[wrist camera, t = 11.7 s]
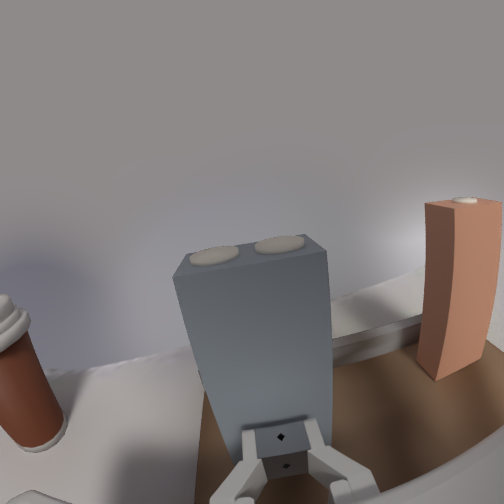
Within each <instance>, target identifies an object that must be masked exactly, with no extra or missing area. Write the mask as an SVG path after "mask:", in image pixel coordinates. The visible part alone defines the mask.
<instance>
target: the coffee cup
mask: <svg viewBox="0 0 504 504" xmlns="http://www.w3.org/2000/svg"><path fill="white" fill-rule="evenodd" d="M30 322H31V319H30V317H29V314H28V313H27V312H26V311H25V310H24V309H23V308H18V307H17V306H16V305H13V303H12V300H11V298H10V297H9V296H8V295H6V294H3V295H0V425H1V427H2V428H3V429H4V430H5V431H6V432H7V434H8V435H9V436H10V437H11V438H12V439H13V440H14V441H15V442H16V444H17V445H18V446H19V447H20V448H21V449H23V450H24V451H26V452H33V453H37V452H41V451H45V450H48V449H49V448H51V447H52V446H54V445H55V444H57V443H58V442H59V440H60V439H61V438H62V437H63V435H64V434H65V431H66V428H67V419H66V416H65V414H64V413H63V411H62V409H61V407H60V406H59V404H58V402H57V400H56V398H55V396H54V394H53V392H52V390H51V387H50V385H49V383H48V381H47V379H46V377H45V374H44V372H43V370H42V367H41V365H40V363H39V360H38V358H37V356H36V353H35V350H34V348H33V345H32V342H31V339H30V337H29V334H28V331H27V330H28V328H29V326H30Z"/></svg>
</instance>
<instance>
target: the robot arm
mask: <svg viewBox="0 0 504 504" xmlns="http://www.w3.org/2000/svg"><path fill="white" fill-rule="evenodd" d="M242 452H243V461H239V462H238V464H237V465H236V466H235V468H234V469H233V470H232V472H231V473H230V474H229V475H228V477H227V478H226V479H225V480H224V482H223V483H222V484H221V485H220V487H219V488H218V489H217V490H216V492H215V493H214V494H213V495H212V496H211V498H210V504H256V503H255V502H256V500H257V499H258V497H259V495H260V493H261V492H262V490H263V488H264V486H265V485H266V483H267V480H270V479H276V478H281V477H286V476H292V475H298V474H304V473H309V474H310V475H311V476H312V477H314V478H315V479H316V480H317V481H318V482H320V483H321V484H322V485H323V486H325V487H326V488H327V489H328V490H329V497H328V504H504V425H503V426H501V427H500V428H499V429H497V430H496V431H495V432H493V433H492V434H491V435H489V436H488V437H486V438H485V439H484V440H482V441H481V442H479V443H478V444H476V445H475V446H473V447H472V448H470V449H468V450H467V451H465V452H464V453H462V454H460V455H459V456H457V457H455V458H454V459H452V460H450V461H448V462H447V463H445V464H443V465H441V466H439V467H437V468H435V469H434V470H432V471H430V472H428V473H426V474H424V475H422V476H419V477H417V478H415V479H413V480H411V481H409V482H406V483H404V484H402V485H399V486H397V487H395V488H392V489H390V490H387V491H384V492H382V493H380V491H379V489H378V486H377V484H376V482H375V480H374V477H373V475H372V473H371V470H369V469H367V468H366V467H364V466H362V465H360V464H359V463H357V462H355V461H354V460H352V459H350V458H348V457H347V456H345V455H344V454H342V453H340V452H339V451H337V450H335V449H334V448H332V447H331V446H329V445H328V446H325V444H324V441H323V438H322V435H321V432H320V429H319V426H318V423H317V420H316V419H315V418H312V419H308V420H303V421H298V422H293V423H288V424H283V425H279V426H273V427H266V428H258V429H251V430H242ZM6 504H72V503H69V502H66V501H62V500H60V499H57V498H54V497H51V496H48V495H46V494H43V493H41V492H38V491H35V490H29V491H26V492H24V493H22V494H20V495H18V496H16V497H14V498H12V499H11V500H9V501H8V502H7V503H6Z"/></svg>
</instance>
